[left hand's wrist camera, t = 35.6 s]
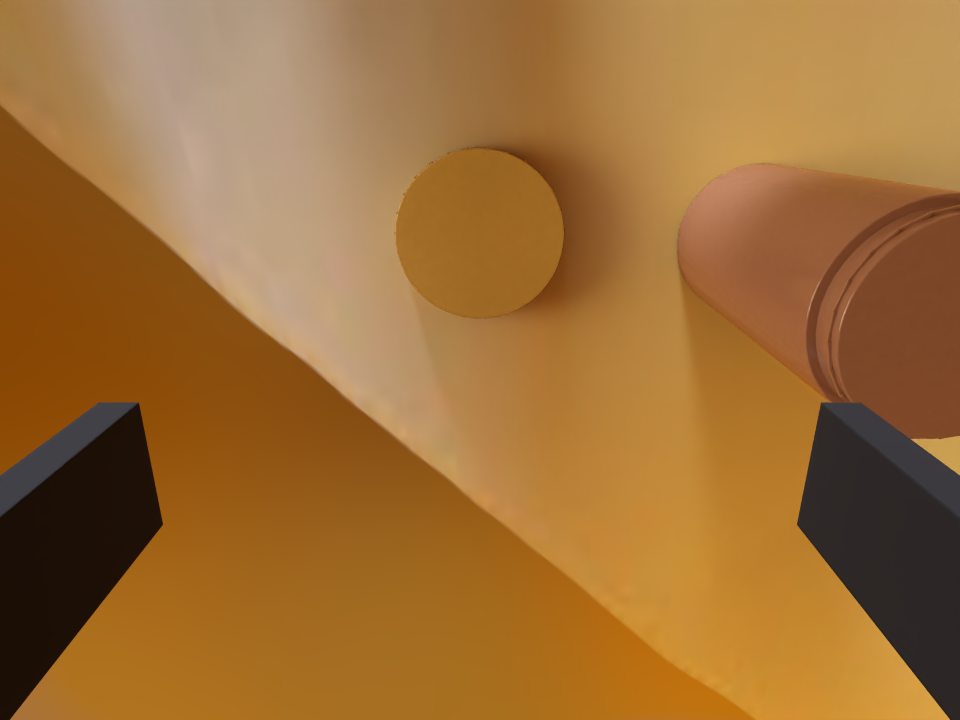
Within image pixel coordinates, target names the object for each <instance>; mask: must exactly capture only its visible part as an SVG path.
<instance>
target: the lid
mask: <svg viewBox="0 0 960 720" xmlns="http://www.w3.org/2000/svg"><path fill="white" fill-rule="evenodd" d="M553 192H554V190H553V189H552V188H550V186H549V185H548V183H547V182H546V181H545V179H544V178H543V177H542V174H541V173H540V172H539V173H538V172H537V171H536V170H535V169H534V168H533V167H531V166H530V165H529V164H528V163H527V161H526V160H524V161H523V160H522V159H520V158H518V157H516V156H514V155H512V154H510V153H509V152H508V151H506V152H504V151H501V150H497V149H491V148H489V147H487V148H469V147H467V149H462V150H459V151H455V152H452V153H450V152H448V153H447V155H445V156H443V157H441V158H439V159H438V160H436V161H435V162H431V163H429V166H428V167H427V168H426V169H424V170H423V171H422V172H421V173H420V174H419V175H417V176H415V180H414V181H413V182H412V184H411V185H410V187H409V188H408V190H407V191H406V192H405V193H404V197H403V199H402V202H401V204H400V207H399V210H398V212H397V214H398V215H397V219H396V229H395V238H396V248H397V253H398V257H399V260H400V263H401V266H402V268H403V270H404V272H405V274H406V276H407V277H408V279H409V281H410V282H411V284H412V285H413V286H414V287H415V289H416V290H417V291H418V292H419V293H420V294H421V295H422V296H423V297H424V298H425V299H427V300H428V301H429V302H431V303H432V304H433V305H435V306H437V307H439V308H440V309H442V310H444V311H446V312H449V313H452V314H454V315H458V316H462V317H468V318H491V317H497V316H501V315H505V314H508V313H510V312H513V311H515V310H517V309H519V308H521V307H523V306H524V305H526V304H527V303H529V302H530V301H531V300H533V299H534V298H535V297H536V296H537V295H538V294H539V293H540V292H541V291H542V290H543V289H544V288H545V286H546V285H547V284H548V283H549V281H550V279H551V278H552V276H553V275H554V273H555V271H556V268H557V266H558V264H559V261H560V257H561V254H562V250H563V243H564V225H563V218H562V214H561V211H562V210H561V208H560V206H559V204H558V201H557V198H556V197H555V195H554V193H553Z"/></svg>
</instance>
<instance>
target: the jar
mask: <svg viewBox="0 0 960 720" xmlns="http://www.w3.org/2000/svg"><path fill="white" fill-rule="evenodd" d="M677 253H678V261H679V266H680V269H681V272H682V274H683V277H684V279H685V280H686V282H687V284H688V285H689V287H690V288H691V289H692V291H693V292H694V293H695V294H696V295H697V296H699V297H700V298H701V299H702V300H703V301H705V302H706V303H707V304H708V305H710V306H711V307H712V308H713V309H715V310H716V311H717V312H718V313H720V314H721V315H722V316H723V317H724V318H726V319H727V320H728V321H729V322H731V323H732V324H733V325H734V326H736V327H737V328H738V329H739V330H741V331H742V332H743V333H744V334H746V335H747V336H748V337H749V338H751V339H752V340H753V341H754V342H756V343H757V344H758V345H759V346H761V347H762V348H763V349H764V350H766V351H767V352H768V353H769V354H770V355H772V356H773V357H774V358H775V359H777V360H778V361H779V362H780V363H782V364H783V365H784V366H785V367H787V368H788V369H789V370H790V371H792V372H793V373H794V374H795V375H797V376H798V377H799V378H800V379H802V380H803V381H804V382H805V383H807V384H808V385H809V386H810V387H812V388H813V389H814V390H815V391H817V392H818V393H819V394H820V395H821V396H823V397H824V398H825V399H826V400H828V401H829V402H830V403H862V404H864V405H865V406H866V407H868V408H869V409H870V410H872V411H873V412H874V413H876V414H877V415H878V416H880V417H881V418H882V419H884V420H885V421H887V422H888V423H889V424H891V425H892V426H893V427H895V428H896V429H897V430H899V431H900V432H901V433H903V434H904V435H905V436H907V437H908V438H910V439H936V438H938V439H943V438H948V437H954V436H960V192H959V191H952V190H945V189H939V188H932V187H925V186H918V185H911V184H905V183H898V182H891V181H884V180H877V179H871V178H864V177H857V176H850V175H844V174H837V173H830V172H823V171H816V170H810V169H803V168H796V167H789V166H782V165H776V164H765V163H761V164H750V165H745V166H741V167H738V168H735V169H732V170H730V171H728V172H726V173H724V174H722V175H721V176H719V177H717V178H716V179H714V180H713V181H712V182H711V183H709V184H708V185H707V186H706V187H705V188H704V189H703V190H702V191H701V192H700V193H699V194H698V195H697V196H696V198H695V199H694V200H693V202H692V203H691V205H690V206H689V208H688V210H687V211H686V214H685V216H684V218H683V220H682V223H681V227H680V230H679V235H678V243H677Z"/></svg>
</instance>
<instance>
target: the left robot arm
mask: <svg viewBox="0 0 960 720" xmlns="http://www.w3.org/2000/svg"><path fill="white" fill-rule="evenodd" d="M162 525H163V522H162V517H161V512H160V507H159V502H158V497H157V492H156V487H155V482H154V477H153V472H152V467H151V462H150V457H149V452H148V447H147V441H146V436H145V431H144V427H143V421H142V416H141V411H140V406H139V403H98V404H97V405H95V406H94V407H92V408H91V409H90V410H88V411H87V412H86V413H84V414H83V415H82V416H80V417H79V418H78V419H76V420H75V421H73V422H72V423H71V424H69V425H68V426H67V427H65V428H64V429H63V430H61V431H60V432H59V433H57V434H56V435H55V436H53V437H52V438H51V439H49V440H48V441H46V442H45V443H44V444H42V445H41V446H40V447H38V448H37V449H36V450H34V451H33V452H32V453H30V454H29V455H28V456H26V457H25V458H24V459H22V460H21V461H19V462H18V463H17V464H15V465H14V466H13V467H11V468H10V469H9V470H7V471H6V472H5V473H3V474H2V475H0V720H10V719H11V717H12V716H13V715H14V714H15V712H16V711H17V710H18V709H19V707H20V706H21V705H22V703H23V702H24V701H25V700H26V698H27V697H28V696H29V695H30V693H31V692H32V691H33V689H34V688H35V687H36V686H37V684H38V683H39V682H40V681H41V679H42V678H43V677H44V675H45V674H46V673H47V672H48V670H49V669H50V668H51V667H52V665H53V664H54V663H55V661H56V660H57V659H58V658H59V656H60V655H61V654H62V653H63V651H64V650H65V649H66V647H67V646H68V645H69V644H70V642H71V641H72V640H73V639H74V637H75V636H76V635H77V633H78V632H79V631H80V630H81V628H82V627H83V626H84V625H85V623H86V622H87V621H88V619H89V618H90V617H91V616H92V614H93V613H94V612H95V611H96V609H97V608H98V607H99V605H100V604H101V603H102V602H103V600H104V599H105V598H106V597H107V595H108V594H109V593H110V591H111V590H112V589H113V588H114V586H115V585H116V584H117V583H118V581H119V580H120V579H121V577H122V576H123V575H124V574H125V572H126V571H127V570H128V569H129V567H130V566H131V565H132V563H133V562H134V561H135V560H136V558H137V557H138V556H139V554H140V553H141V552H142V551H143V549H144V548H145V547H146V546H147V544H148V543H149V542H150V540H151V539H152V538H153V537H154V535H155V534H156V533H157V532H158V530H159V529H160V528H161V526H162ZM797 525H798V526H799V528H800V529H801V530H802V532H803V533H804V534H805V535H806V537H807V538H808V539H809V540H810V542H811V543H812V544H813V546H814V547H815V548H816V549H817V551H818V552H819V553H820V555H821V556H822V557H823V558H824V560H825V561H826V562H827V563H828V565H829V566H830V567H831V569H832V570H833V571H834V572H835V574H836V575H837V576H838V577H839V579H840V580H841V581H842V583H843V584H844V585H845V586H846V588H847V589H848V590H849V591H850V593H851V594H852V595H853V597H854V598H855V599H856V600H857V602H858V603H859V604H860V605H861V607H862V608H863V609H864V611H865V612H866V613H867V614H868V616H869V617H870V618H871V619H872V621H873V622H874V623H875V625H876V626H877V627H878V628H879V630H880V631H881V632H882V633H883V635H884V636H885V637H886V639H887V640H888V641H889V642H890V644H891V645H892V646H893V647H894V649H895V650H896V651H897V653H898V654H899V655H900V656H901V658H902V659H903V660H904V661H905V663H906V664H907V665H908V667H909V668H910V669H911V670H912V672H913V673H914V674H915V675H916V677H917V678H918V679H919V681H920V682H921V683H922V684H923V686H924V687H925V688H926V689H927V691H928V692H929V693H930V695H931V696H932V697H933V698H934V700H935V701H936V702H937V703H938V705H939V706H940V707H941V709H942V710H943V711H944V712H945V714H946V715H947V716H948V717H949V719H950V720H960V475H958V474H957V473H955V472H954V471H953V470H951V469H950V468H949V467H947V466H946V465H945V464H943V463H942V462H941V461H939V460H938V459H937V458H935V457H934V456H932V455H931V454H930V453H928V452H927V451H926V450H924V449H923V448H922V447H920V446H919V445H918V444H916V443H915V442H914V441H912V440H911V439H910V438H908V437H907V436H905V435H904V434H903V433H901V432H900V431H899V430H897V429H896V428H895V427H893V426H892V425H891V424H889V423H888V422H887V421H885V420H884V419H882V418H881V417H880V416H878V415H877V414H876V413H874V412H873V411H872V410H870V409H869V408H868V407H866V406H865V405H864V404H862V403H821V406H820V411H819V416H818V421H817V426H816V431H815V436H814V441H813V446H812V452H811V457H810V462H809V467H808V472H807V477H806V482H805V487H804V492H803V497H802V502H801V507H800V512H799V517H798V522H797Z"/></svg>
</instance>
